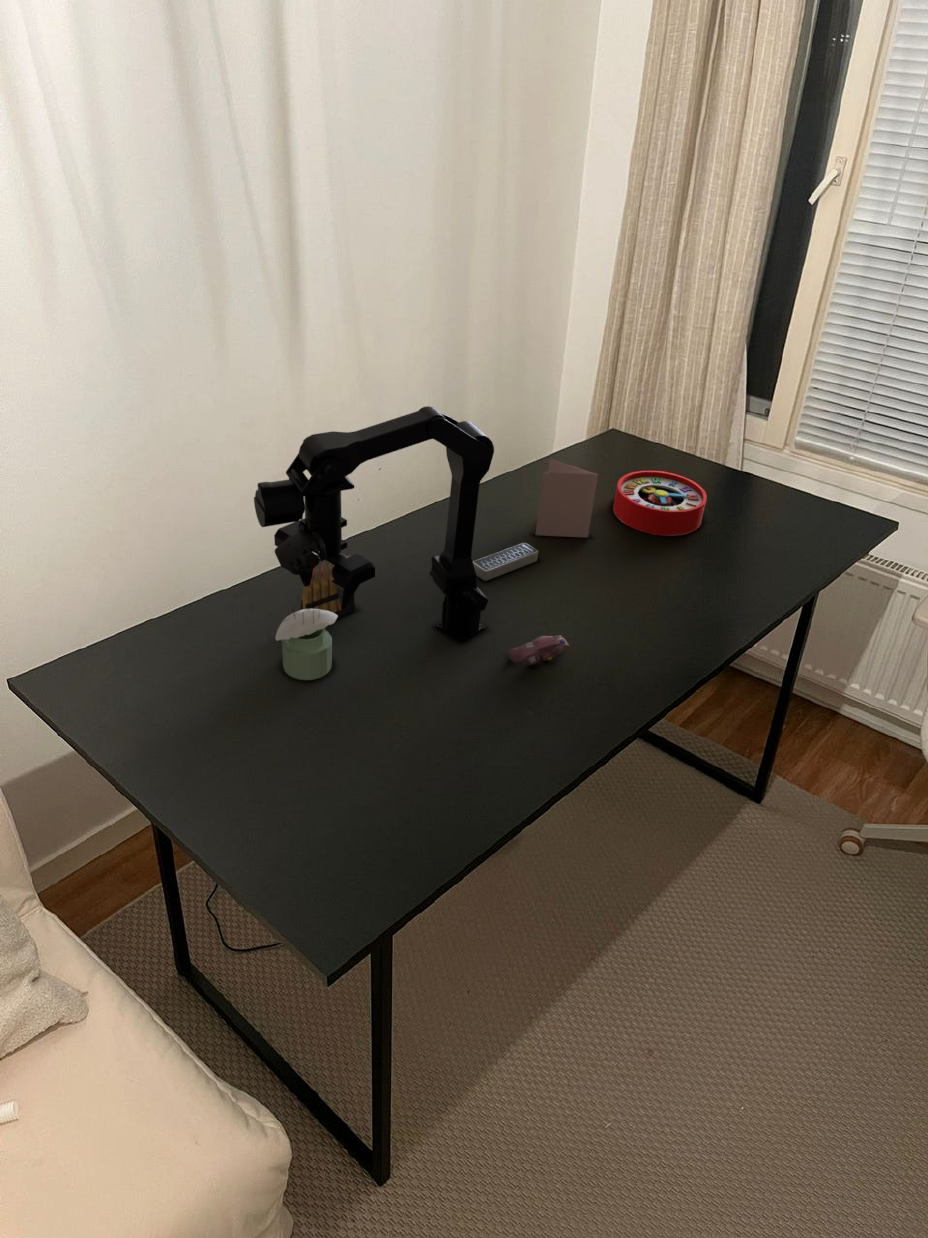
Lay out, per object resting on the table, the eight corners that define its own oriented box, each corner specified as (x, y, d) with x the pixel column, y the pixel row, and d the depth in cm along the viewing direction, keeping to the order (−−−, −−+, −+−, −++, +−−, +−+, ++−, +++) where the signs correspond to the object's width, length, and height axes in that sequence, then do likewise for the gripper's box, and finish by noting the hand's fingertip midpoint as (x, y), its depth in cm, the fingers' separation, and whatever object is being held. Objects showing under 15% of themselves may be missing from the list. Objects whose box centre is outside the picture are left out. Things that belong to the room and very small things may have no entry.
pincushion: (327, 609, 173) (326, 582, 169) (347, 626, 169) (347, 598, 166) (266, 632, 166) (265, 604, 163) (286, 650, 162) (285, 622, 159)
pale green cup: (341, 666, 172) (341, 631, 168) (304, 686, 167) (303, 650, 163) (310, 645, 176) (309, 610, 172) (273, 664, 171) (271, 628, 167)
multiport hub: (470, 571, 201) (471, 561, 199) (523, 551, 209) (524, 541, 208) (485, 581, 198) (485, 571, 197) (538, 560, 206) (539, 550, 205)
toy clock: (612, 467, 232) (698, 473, 232) (608, 490, 235) (693, 496, 236) (622, 508, 215) (714, 515, 216) (618, 532, 219) (708, 538, 219)
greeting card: (589, 535, 216) (599, 473, 208) (573, 549, 211) (583, 485, 203) (543, 519, 221) (551, 457, 213) (527, 532, 216) (534, 469, 207)
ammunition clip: (305, 628, 181) (304, 572, 174) (300, 623, 182) (299, 567, 175) (355, 610, 186) (355, 555, 180) (349, 605, 188) (350, 550, 181)
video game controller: (515, 676, 176) (527, 657, 170) (504, 654, 178) (517, 635, 172) (562, 663, 180) (576, 645, 174) (552, 642, 182) (565, 623, 176)
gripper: (245, 509, 158) (250, 591, 166) (323, 555, 148) (325, 640, 157) (299, 487, 165) (302, 568, 173) (378, 530, 155) (377, 613, 164)
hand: (324, 596), depth 167 cm, fingers open, 9 cm apart
